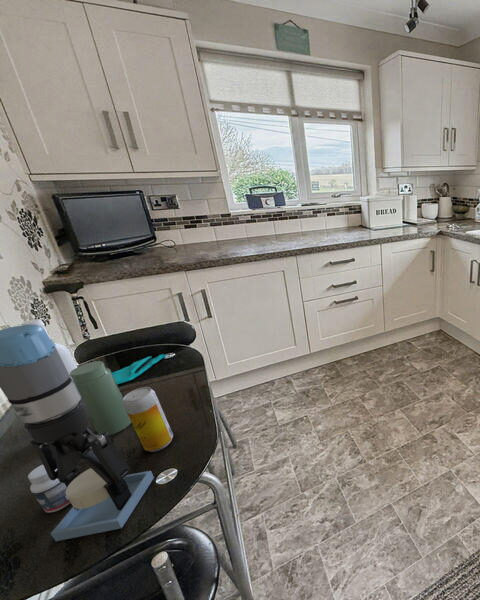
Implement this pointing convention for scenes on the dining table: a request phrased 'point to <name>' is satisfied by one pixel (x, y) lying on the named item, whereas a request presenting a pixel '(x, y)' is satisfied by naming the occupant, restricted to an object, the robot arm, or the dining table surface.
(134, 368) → the turquoise rubber glove
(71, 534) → the dish
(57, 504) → the pill bottle
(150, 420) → the beer can
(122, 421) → the flask
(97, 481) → the flask lid
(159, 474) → the dining table surface
